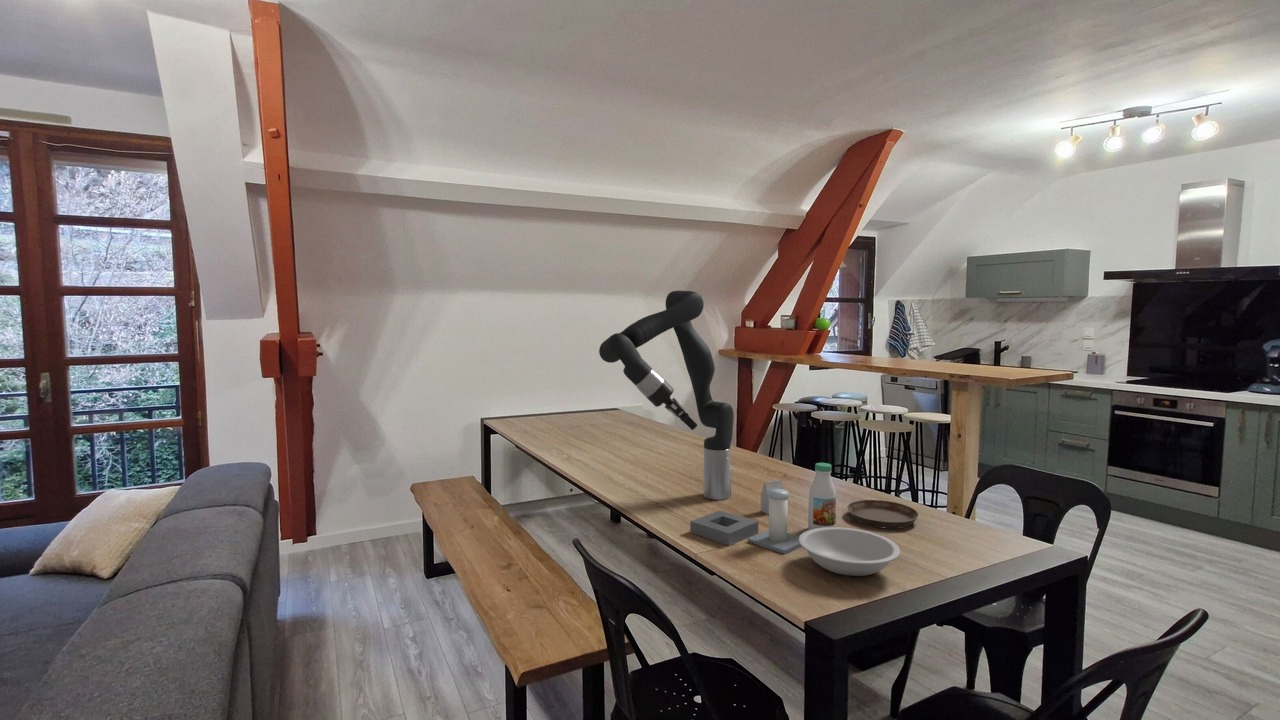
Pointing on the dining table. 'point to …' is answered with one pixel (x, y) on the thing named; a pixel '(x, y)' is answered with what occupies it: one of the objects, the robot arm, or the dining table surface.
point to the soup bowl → (849, 550)
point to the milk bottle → (822, 499)
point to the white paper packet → (765, 493)
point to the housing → (724, 527)
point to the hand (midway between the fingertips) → (692, 425)
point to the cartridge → (778, 514)
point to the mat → (780, 547)
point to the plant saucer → (882, 513)
